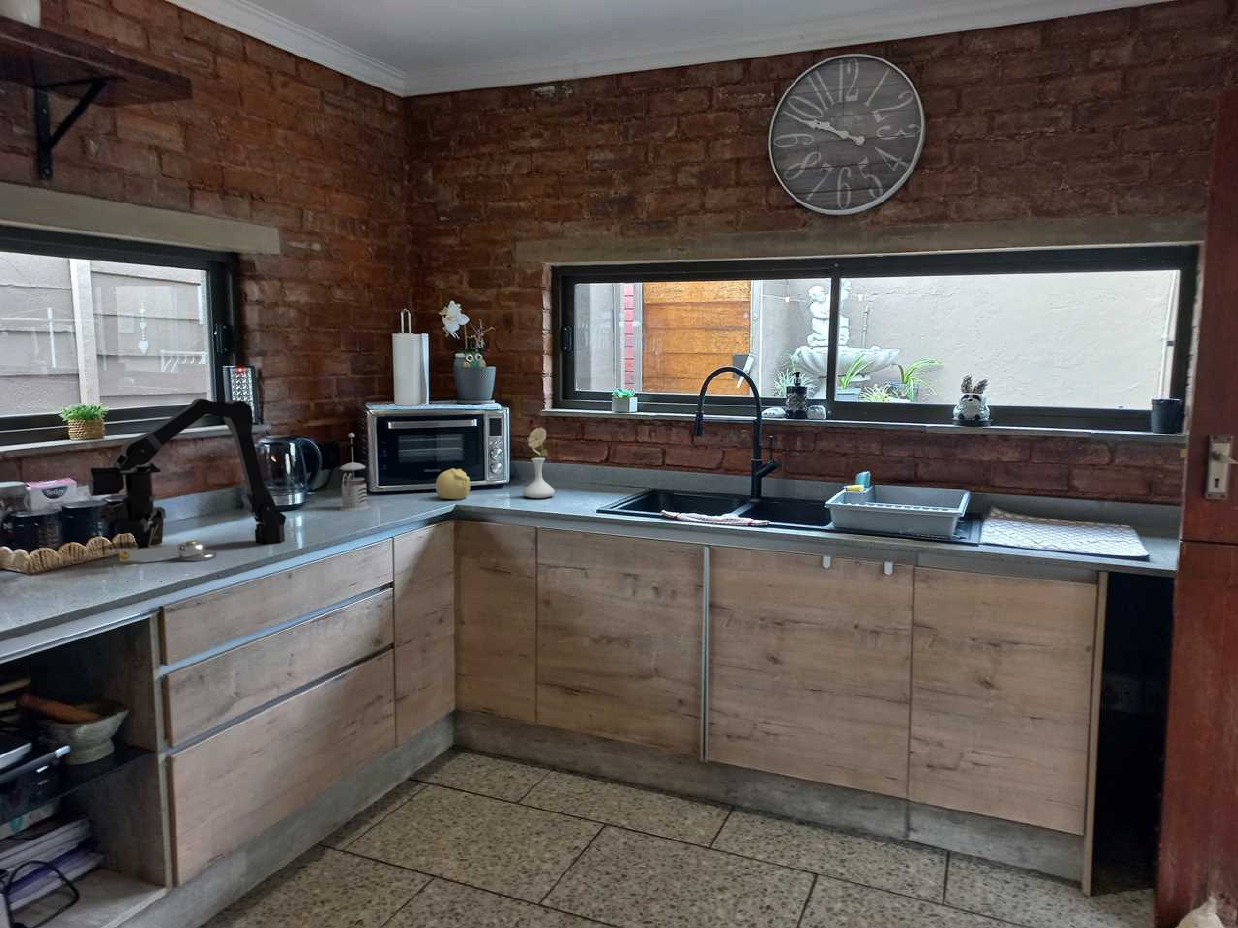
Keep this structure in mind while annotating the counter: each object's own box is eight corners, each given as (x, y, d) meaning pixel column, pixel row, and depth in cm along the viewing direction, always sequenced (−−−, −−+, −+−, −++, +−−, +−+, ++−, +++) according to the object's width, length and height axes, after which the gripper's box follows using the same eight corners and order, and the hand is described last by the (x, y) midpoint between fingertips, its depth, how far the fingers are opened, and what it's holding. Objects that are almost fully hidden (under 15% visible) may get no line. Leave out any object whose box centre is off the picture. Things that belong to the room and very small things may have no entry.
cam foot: (217, 552, 221) (216, 536, 220) (215, 559, 213) (214, 543, 213) (122, 560, 213) (121, 544, 212) (117, 568, 205) (116, 551, 205)
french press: (374, 505, 291) (371, 431, 288) (361, 512, 280) (357, 435, 276) (346, 505, 292) (343, 431, 289) (332, 511, 280) (328, 435, 277)
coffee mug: (172, 543, 236) (169, 507, 235) (157, 551, 227) (154, 513, 226) (129, 544, 236) (126, 508, 234) (112, 551, 227) (108, 514, 226)
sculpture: (472, 500, 299) (471, 469, 298) (436, 502, 297) (435, 471, 295) (470, 495, 310) (469, 465, 309) (436, 496, 308) (434, 466, 306)
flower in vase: (518, 496, 308) (516, 426, 305) (548, 493, 313) (547, 424, 309) (530, 501, 296) (529, 429, 293) (561, 499, 301) (560, 427, 298)
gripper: (116, 485, 217) (120, 546, 220) (88, 499, 199) (93, 565, 202) (164, 484, 220) (168, 544, 222) (141, 498, 202) (145, 563, 204)
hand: (143, 554), depth 213 cm, fingers closed
